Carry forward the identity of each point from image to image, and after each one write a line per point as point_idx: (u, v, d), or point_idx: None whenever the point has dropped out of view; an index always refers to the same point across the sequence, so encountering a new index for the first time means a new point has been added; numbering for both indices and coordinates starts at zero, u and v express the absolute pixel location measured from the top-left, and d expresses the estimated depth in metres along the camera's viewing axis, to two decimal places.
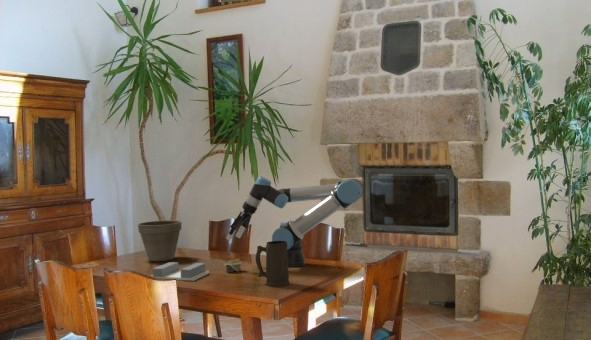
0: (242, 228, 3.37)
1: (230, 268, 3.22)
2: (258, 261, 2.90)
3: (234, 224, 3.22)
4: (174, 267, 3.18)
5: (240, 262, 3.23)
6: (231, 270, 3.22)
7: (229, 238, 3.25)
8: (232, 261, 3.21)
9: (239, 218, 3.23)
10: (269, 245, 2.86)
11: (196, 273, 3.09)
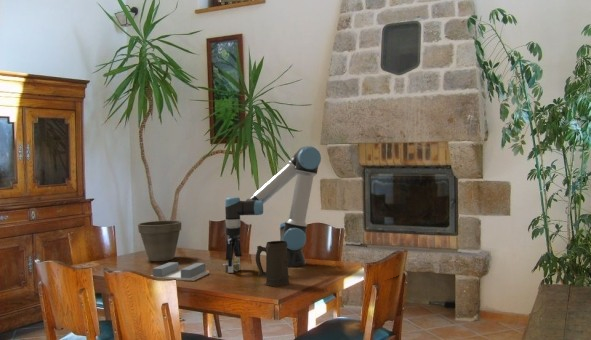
0: (237, 258, 3.26)
1: None
2: (258, 261, 2.90)
3: (228, 255, 3.15)
4: (174, 267, 3.18)
5: (239, 262, 3.22)
6: None
7: (231, 270, 3.17)
8: None
9: (229, 247, 3.15)
10: (269, 245, 2.86)
11: (196, 273, 3.09)
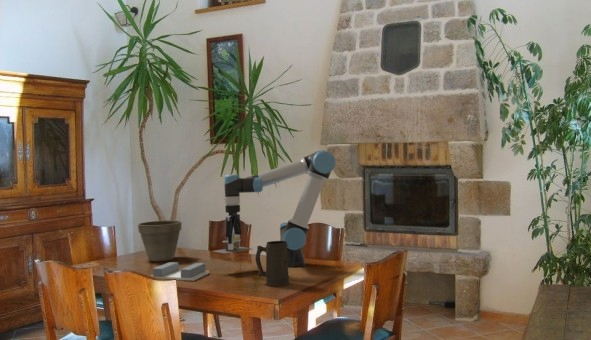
0: (237, 236, 3.26)
1: None
2: (258, 261, 2.90)
3: (228, 232, 3.14)
4: (174, 267, 3.18)
5: (239, 239, 3.22)
6: None
7: (231, 247, 3.17)
8: None
9: (228, 224, 3.15)
10: (269, 245, 2.86)
11: (196, 273, 3.09)
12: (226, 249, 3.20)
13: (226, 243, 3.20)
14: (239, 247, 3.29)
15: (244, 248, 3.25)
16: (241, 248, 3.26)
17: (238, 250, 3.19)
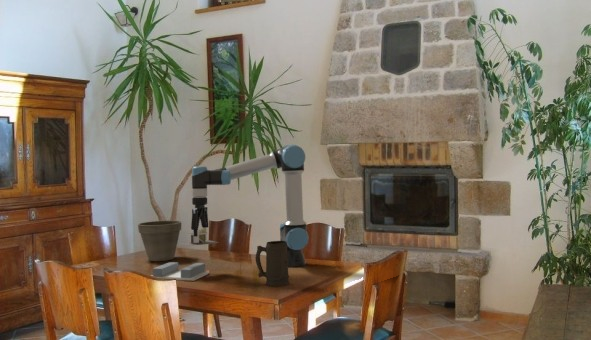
0: None
1: None
2: (258, 261, 2.90)
3: (193, 224, 3.09)
4: (174, 267, 3.18)
5: (205, 232, 3.16)
6: None
7: (197, 240, 3.11)
8: None
9: (194, 216, 3.09)
10: (269, 245, 2.86)
11: (196, 273, 3.09)
12: (192, 242, 3.14)
13: (192, 236, 3.14)
14: (206, 240, 3.24)
15: (211, 241, 3.20)
16: (208, 241, 3.20)
17: (204, 243, 3.14)
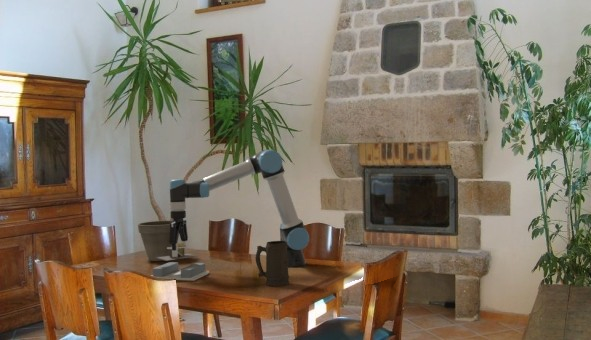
0: (182, 242, 3.17)
1: None
2: (258, 261, 2.90)
3: (171, 238, 3.05)
4: (174, 267, 3.18)
5: (184, 246, 3.13)
6: None
7: (175, 254, 3.08)
8: None
9: (172, 230, 3.06)
10: (269, 245, 2.86)
11: (196, 273, 3.09)
12: (170, 256, 3.11)
13: (170, 250, 3.11)
14: (185, 254, 3.20)
15: (190, 255, 3.16)
16: (187, 255, 3.17)
17: (183, 257, 3.10)
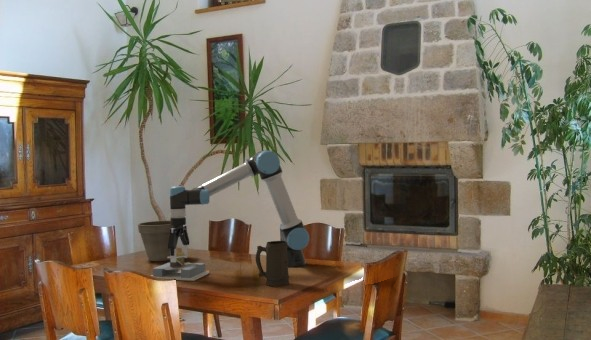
0: (184, 247, 3.18)
1: None
2: (258, 261, 2.90)
3: (170, 243, 3.04)
4: None
5: (184, 255, 3.13)
6: (175, 263, 3.12)
7: (174, 260, 3.06)
8: (176, 254, 3.11)
9: (172, 235, 3.05)
10: (269, 245, 2.86)
11: (196, 273, 3.09)
12: (171, 265, 3.11)
13: None
14: (186, 263, 3.20)
15: (190, 264, 3.16)
16: (187, 264, 3.17)
17: (183, 266, 3.10)
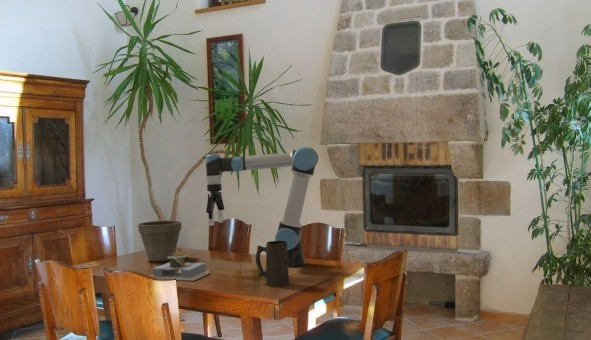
0: (220, 211, 3.36)
1: (174, 261, 3.12)
2: (258, 261, 2.90)
3: (208, 207, 3.21)
4: None
5: (184, 255, 3.13)
6: (175, 263, 3.12)
7: (212, 223, 3.23)
8: (176, 254, 3.11)
9: (210, 200, 3.22)
10: (269, 245, 2.86)
11: (196, 273, 3.09)
12: (171, 265, 3.11)
13: (171, 259, 3.11)
14: (186, 263, 3.20)
15: (190, 264, 3.16)
16: (187, 264, 3.17)
17: (183, 266, 3.10)
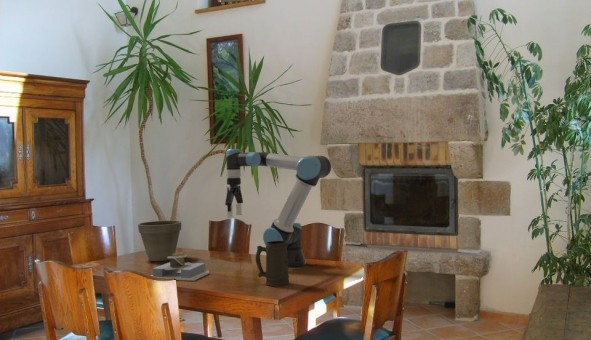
0: (238, 205, 3.47)
1: (174, 261, 3.12)
2: (258, 261, 2.90)
3: (227, 200, 3.31)
4: None
5: (184, 255, 3.13)
6: (175, 263, 3.12)
7: (230, 215, 3.33)
8: (176, 254, 3.11)
9: (229, 193, 3.33)
10: (269, 245, 2.86)
11: (196, 273, 3.09)
12: (171, 265, 3.11)
13: (171, 259, 3.11)
14: (186, 263, 3.20)
15: (190, 264, 3.16)
16: (187, 264, 3.17)
17: (183, 266, 3.10)
